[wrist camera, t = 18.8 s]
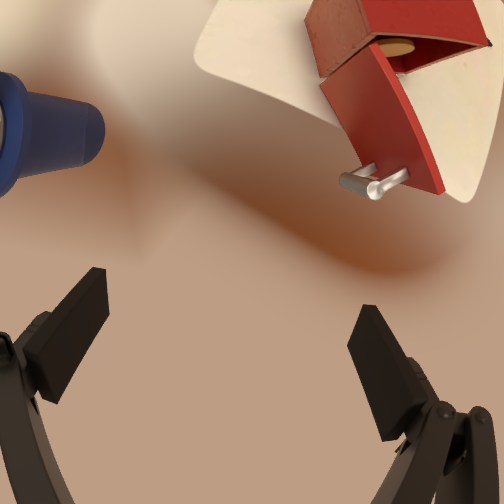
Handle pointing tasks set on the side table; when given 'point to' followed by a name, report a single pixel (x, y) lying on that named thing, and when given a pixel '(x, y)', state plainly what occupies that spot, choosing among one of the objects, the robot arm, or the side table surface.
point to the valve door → (380, 127)
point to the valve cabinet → (393, 31)
